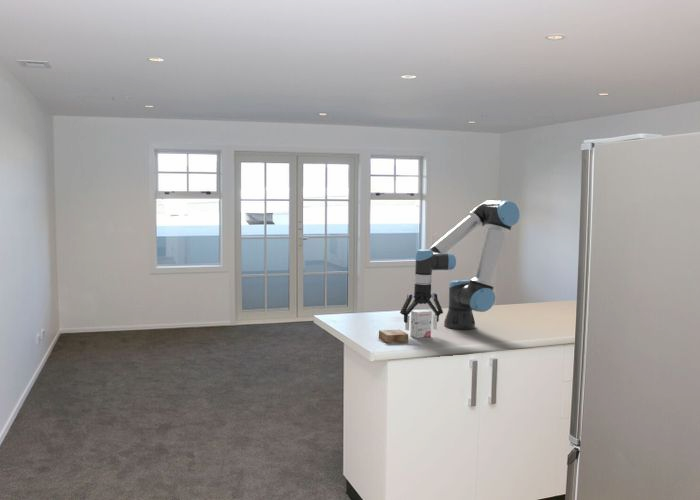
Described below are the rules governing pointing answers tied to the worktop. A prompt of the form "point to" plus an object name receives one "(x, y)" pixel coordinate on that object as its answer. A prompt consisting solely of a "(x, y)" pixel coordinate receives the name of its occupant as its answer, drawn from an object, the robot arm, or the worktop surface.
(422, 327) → the ink box
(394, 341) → the walnut block
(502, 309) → the worktop surface
